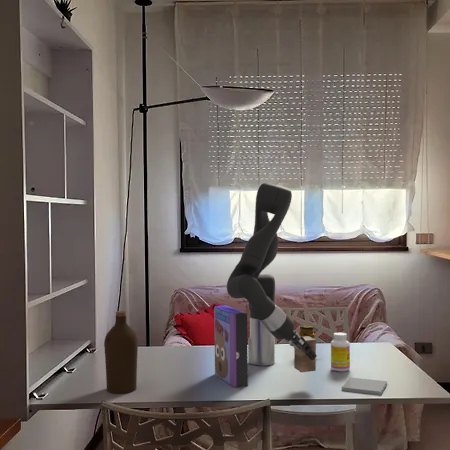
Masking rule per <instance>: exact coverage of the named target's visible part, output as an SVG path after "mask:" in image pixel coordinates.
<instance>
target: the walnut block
mask: <svg viewBox="0 0 450 450" xmlns="http://www.w3.org/2000/svg"><path fill="white" fill-rule="evenodd" d="M303 338H304V339H305V340H306V342H307V343H308V344H309V345H310V346H311V347H312V349H311V350H312V351H313V352H314V353H315V354H316V355H317V352H316V351H317V339H316V338H315V339H313V338H311V337H309V336H305V337H303ZM297 346H299V345H297ZM293 349H294V350H293V351H294V359H293V361H294V363H293V364H294V369H295V370H297V371H299V372H301V373H308V372H316V371H317V370H316V369H317V365H316V364H317V363H316V362H317V359H316V358H315V359H314V360H311V359H310V358H309V357H308V356H307V355H306V354H305V353H303V351H301V350H300V349H297V348H296V347H293Z"/></svg>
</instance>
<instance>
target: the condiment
mask: <svg viewBox="0 0 450 450" xmlns="http://www.w3.org/2000/svg"><path fill="white" fill-rule="evenodd" d="M314 332H315V330H314V326H313V325H310V324H306V325H304V324H303V325H300V326H299V332H298V334H299V335H300V337H305V336H309V337H311V338H313V339H316V337H315V333H314ZM316 358H319V359H318V360H320V357H318V356H317V357H316Z"/></svg>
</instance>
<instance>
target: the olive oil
mask: <svg viewBox="0 0 450 450" xmlns="http://www.w3.org/2000/svg"><path fill="white" fill-rule="evenodd" d="M103 343H104V345H103V346H104V358H105V375H106V376H105V378H106V391H107V392H108V393H112V394H126V393H127V394H129V393H132V392H134V391H136V390H137V387H138V386H137V383H138V382H137V381H138V380H137V375H138V350H139V349H138V348H139V346H138V345H139V338H138V336H137V334H136V332H135V330H133V329H132V327H131V326H130V325H129V324H128V323H127V311H125V310H118V311H115V323H114V325H113V326H112V327H111V328H110V329H109V330H108V331H107V333H106V334H105V337H104V341H103Z"/></svg>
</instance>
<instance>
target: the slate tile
mask: <svg viewBox="0 0 450 450" xmlns="http://www.w3.org/2000/svg"><path fill="white" fill-rule="evenodd" d="M387 385H388V381H386V380H380V379H379V380H377V379H367V378H360V377H351V376H350V377H349V378H348V379H347V380H346V381H345V383H344V384H343V385H342V387H341V391H342V392H343V391H345V392H353V393H361V394H362V393H363V394H369V395H379V396H381V395H382V394H383V392H384V391H385V388H386V387H387Z"/></svg>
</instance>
